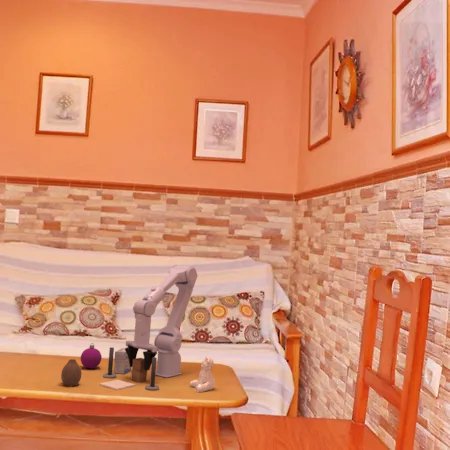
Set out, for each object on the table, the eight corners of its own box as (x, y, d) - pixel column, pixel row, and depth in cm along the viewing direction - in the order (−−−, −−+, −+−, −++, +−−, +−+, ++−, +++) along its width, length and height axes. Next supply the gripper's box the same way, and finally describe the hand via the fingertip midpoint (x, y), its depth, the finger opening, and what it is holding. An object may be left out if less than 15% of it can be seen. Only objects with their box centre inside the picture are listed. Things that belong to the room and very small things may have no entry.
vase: (62, 387, 194) (64, 362, 195) (58, 382, 200) (60, 358, 201) (82, 386, 198) (84, 361, 198) (78, 381, 204) (79, 357, 204)
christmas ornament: (79, 370, 221) (81, 344, 221) (79, 365, 229) (81, 341, 229) (100, 370, 223) (102, 345, 223) (100, 366, 231) (102, 341, 231)
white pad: (117, 380, 209) (117, 379, 209) (135, 385, 203) (135, 384, 203) (99, 384, 201) (99, 383, 201) (116, 390, 196) (116, 388, 196)
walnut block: (138, 378, 214) (140, 357, 214) (146, 380, 212) (147, 359, 212) (131, 380, 211) (132, 359, 211) (138, 382, 208) (140, 360, 209)
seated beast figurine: (188, 385, 209) (190, 353, 209) (210, 385, 212) (212, 353, 212) (196, 392, 200) (198, 358, 200) (218, 392, 203) (221, 358, 203)
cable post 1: (110, 374, 218) (112, 346, 218) (119, 377, 215) (121, 348, 215) (100, 376, 213) (102, 347, 214) (109, 379, 211) (111, 349, 211)
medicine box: (123, 374, 219) (125, 352, 219) (113, 373, 220) (114, 351, 220) (131, 370, 227) (132, 348, 227) (120, 369, 228) (122, 347, 228)
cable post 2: (151, 386, 205) (154, 355, 205) (162, 389, 202) (164, 358, 202) (142, 388, 201) (144, 357, 201) (152, 391, 198) (154, 360, 198)
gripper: (121, 330, 213) (118, 366, 212) (149, 335, 204) (146, 373, 204) (134, 328, 219) (131, 363, 218) (162, 334, 210) (159, 370, 210)
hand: (139, 368), depth 211 cm, fingers open, 7 cm apart
